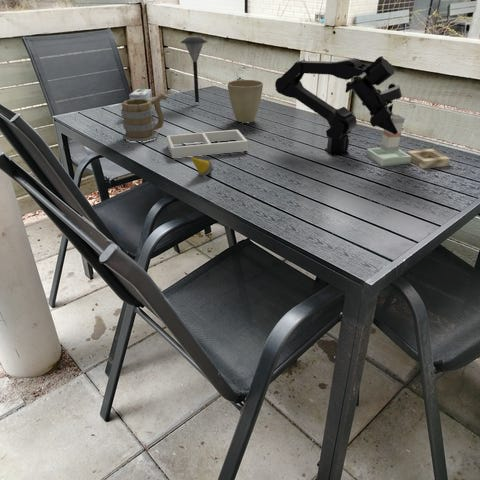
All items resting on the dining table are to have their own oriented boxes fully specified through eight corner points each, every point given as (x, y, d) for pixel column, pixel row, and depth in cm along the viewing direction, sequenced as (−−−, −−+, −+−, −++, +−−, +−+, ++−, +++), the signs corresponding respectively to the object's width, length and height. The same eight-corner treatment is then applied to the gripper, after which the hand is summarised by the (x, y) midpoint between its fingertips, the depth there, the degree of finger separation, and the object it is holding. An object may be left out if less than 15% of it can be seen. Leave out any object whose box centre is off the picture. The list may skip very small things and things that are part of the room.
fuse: (386, 152, 146) (392, 119, 141) (379, 147, 150) (385, 115, 144) (398, 150, 147) (404, 118, 142) (391, 146, 151) (397, 114, 145)
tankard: (134, 145, 164) (129, 105, 156) (118, 137, 172) (112, 98, 164) (179, 134, 175) (176, 96, 167) (162, 127, 183) (158, 90, 176)
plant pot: (268, 119, 192) (269, 81, 184) (251, 128, 182) (251, 88, 173) (239, 114, 199) (239, 78, 191) (221, 122, 188) (220, 84, 180)
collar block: (422, 168, 143) (424, 161, 142) (405, 158, 152) (406, 151, 150) (448, 165, 146) (450, 158, 144) (430, 155, 154) (431, 148, 152)
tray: (381, 166, 145) (383, 159, 144) (365, 155, 154) (366, 148, 152) (410, 163, 147) (411, 156, 146) (392, 152, 156) (393, 146, 155)
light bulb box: (139, 112, 203) (137, 88, 198) (154, 113, 203) (151, 88, 197) (131, 119, 194) (128, 94, 189) (146, 119, 194) (143, 94, 188)
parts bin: (172, 159, 152) (171, 148, 150) (167, 146, 163) (166, 135, 161) (247, 151, 158) (247, 141, 156) (237, 139, 169) (237, 129, 167)
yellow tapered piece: (216, 178, 139) (194, 162, 132) (204, 181, 142) (182, 166, 135) (219, 164, 141) (198, 147, 134) (207, 167, 144) (186, 151, 137)
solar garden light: (181, 107, 210) (176, 39, 194) (188, 101, 220) (184, 35, 205) (206, 108, 208) (203, 39, 193) (212, 102, 219) (209, 36, 203)
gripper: (387, 82, 130) (419, 123, 133) (390, 71, 145) (418, 107, 148) (356, 107, 136) (387, 145, 139) (362, 93, 151) (390, 128, 154)
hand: (396, 130), depth 145 cm, fingers closed on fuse, 5 cm apart
